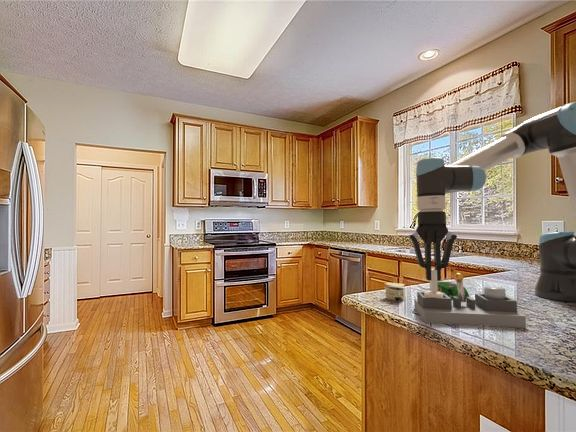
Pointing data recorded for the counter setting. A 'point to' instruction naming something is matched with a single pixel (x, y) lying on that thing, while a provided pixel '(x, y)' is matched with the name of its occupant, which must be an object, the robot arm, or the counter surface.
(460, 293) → the toggle lever
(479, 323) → the control panel
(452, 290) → the snack package
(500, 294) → the grey blue button
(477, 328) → the counter surface
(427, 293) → the white button
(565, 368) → the counter surface
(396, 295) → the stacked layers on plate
